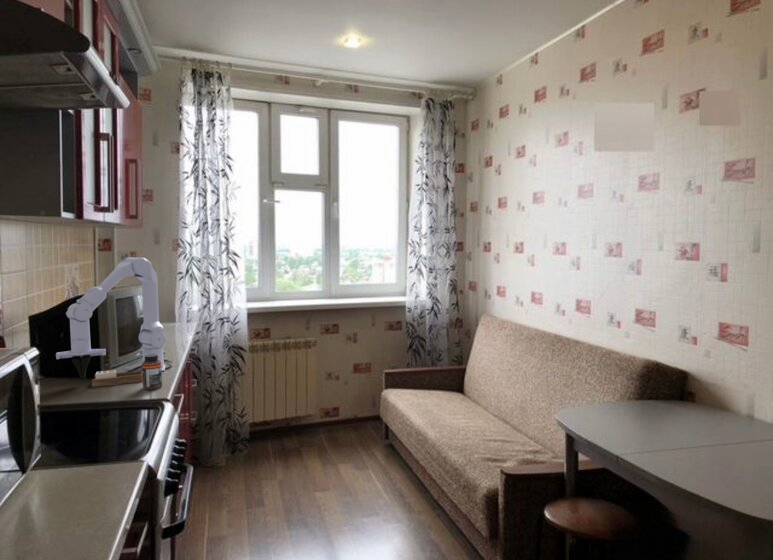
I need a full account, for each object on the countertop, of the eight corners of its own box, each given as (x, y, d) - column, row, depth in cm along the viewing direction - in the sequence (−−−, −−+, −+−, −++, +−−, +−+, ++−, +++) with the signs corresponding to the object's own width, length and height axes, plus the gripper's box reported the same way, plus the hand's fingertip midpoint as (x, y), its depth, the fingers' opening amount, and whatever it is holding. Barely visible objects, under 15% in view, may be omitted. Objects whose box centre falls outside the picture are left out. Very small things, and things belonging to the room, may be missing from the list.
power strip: (97, 382, 179) (96, 370, 178) (116, 381, 181) (116, 369, 181) (96, 385, 176) (95, 373, 175) (115, 383, 178) (115, 371, 178)
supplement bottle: (143, 386, 174) (141, 353, 173) (162, 384, 176) (160, 352, 175) (142, 391, 168) (141, 357, 167) (162, 388, 171) (161, 355, 170)
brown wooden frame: (95, 381, 180) (94, 374, 180) (144, 376, 186) (144, 370, 186) (92, 387, 173) (91, 380, 173) (143, 381, 179) (143, 375, 179)
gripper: (53, 342, 168) (55, 382, 169) (103, 338, 173) (105, 377, 174) (57, 338, 174) (59, 377, 175) (105, 335, 180) (107, 372, 181)
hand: (82, 377), depth 175 cm, fingers closed
